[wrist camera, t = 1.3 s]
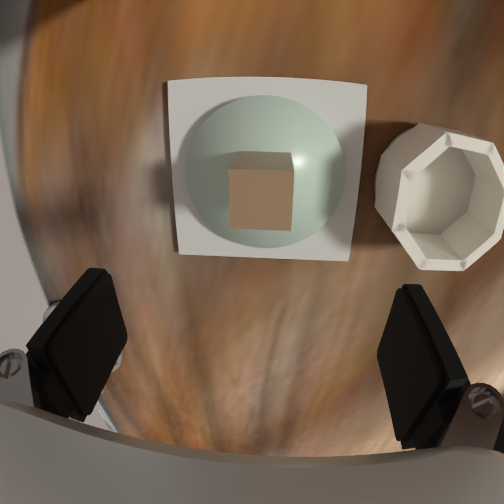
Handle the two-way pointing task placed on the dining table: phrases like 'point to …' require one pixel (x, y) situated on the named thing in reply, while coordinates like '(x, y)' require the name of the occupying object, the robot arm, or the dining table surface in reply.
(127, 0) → the dining table surface
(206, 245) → the mat
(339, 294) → the dining table surface
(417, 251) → the bowl
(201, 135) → the lid
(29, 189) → the dining table surface
